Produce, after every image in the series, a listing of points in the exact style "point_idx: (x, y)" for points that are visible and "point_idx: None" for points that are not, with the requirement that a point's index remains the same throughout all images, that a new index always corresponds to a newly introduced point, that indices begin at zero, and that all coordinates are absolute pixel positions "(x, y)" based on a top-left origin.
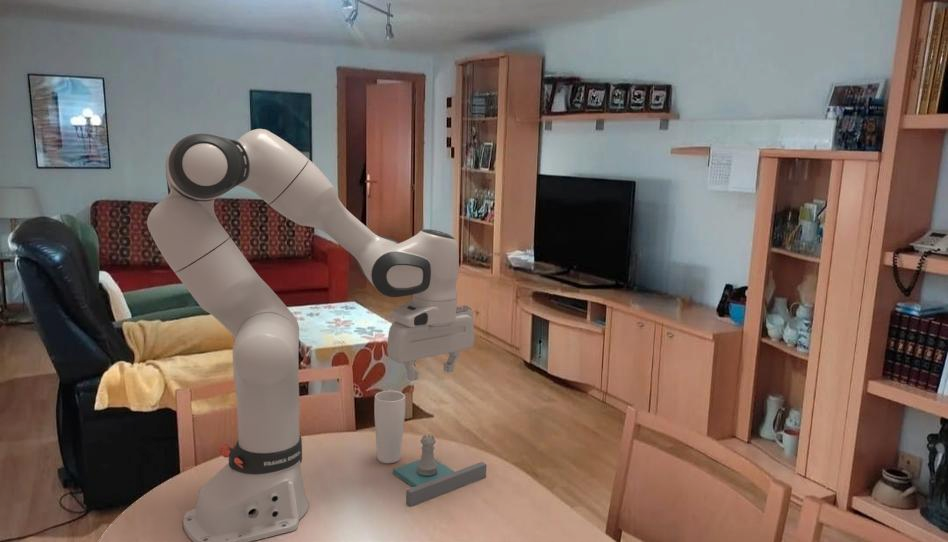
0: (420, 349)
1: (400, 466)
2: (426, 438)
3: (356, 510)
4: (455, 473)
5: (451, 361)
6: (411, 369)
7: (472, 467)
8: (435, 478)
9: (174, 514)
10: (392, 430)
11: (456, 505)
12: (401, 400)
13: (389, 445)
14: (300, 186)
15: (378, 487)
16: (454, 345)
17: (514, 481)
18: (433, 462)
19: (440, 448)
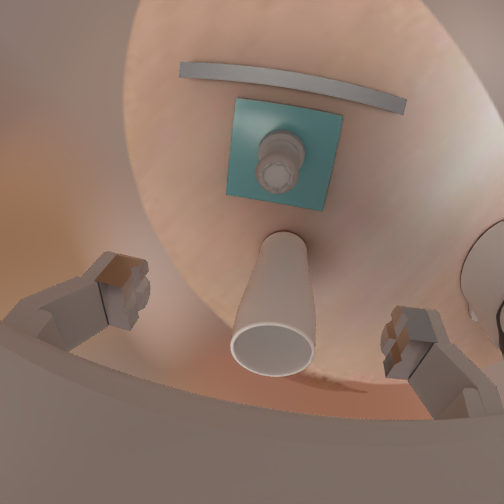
0: (489, 498)
1: (304, 207)
2: (280, 179)
3: (459, 168)
4: (268, 77)
5: (88, 301)
6: (471, 364)
7: (216, 71)
8: (290, 119)
9: None
10: (298, 274)
11: (327, 29)
12: (268, 320)
13: (301, 257)
14: None
15: (381, 191)
16: (5, 386)
17: (160, 17)
18: (277, 141)
19: (176, 211)
